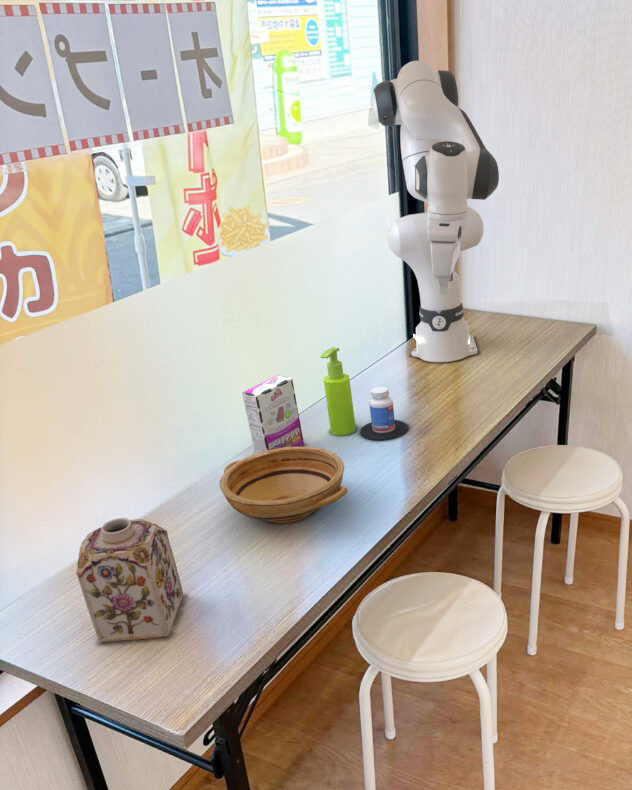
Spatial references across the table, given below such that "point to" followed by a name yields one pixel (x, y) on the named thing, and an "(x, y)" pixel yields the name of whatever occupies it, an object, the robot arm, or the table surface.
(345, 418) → the lime green pump bottle
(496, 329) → the table surface
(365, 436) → the coaster
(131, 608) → the decorative jar
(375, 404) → the pill bottle
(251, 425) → the candy bar box
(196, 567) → the table surface
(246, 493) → the ceramic bowl
